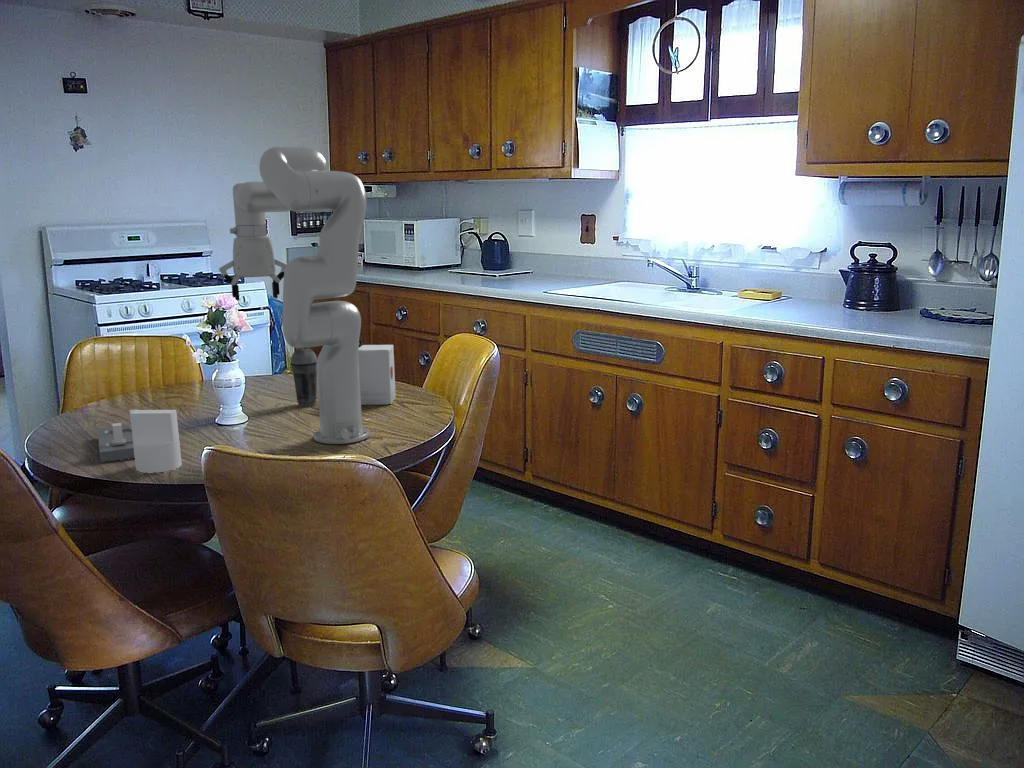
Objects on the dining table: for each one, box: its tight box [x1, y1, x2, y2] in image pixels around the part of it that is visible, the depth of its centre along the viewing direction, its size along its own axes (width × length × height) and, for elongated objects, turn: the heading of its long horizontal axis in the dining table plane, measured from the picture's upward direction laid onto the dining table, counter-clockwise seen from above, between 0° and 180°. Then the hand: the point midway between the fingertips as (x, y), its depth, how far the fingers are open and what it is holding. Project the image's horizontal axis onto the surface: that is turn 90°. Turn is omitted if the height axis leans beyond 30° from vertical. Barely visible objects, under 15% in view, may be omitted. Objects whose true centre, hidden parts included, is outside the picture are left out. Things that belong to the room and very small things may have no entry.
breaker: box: [111, 422, 126, 446], centre depth 195 cm, size 4×3×4 cm
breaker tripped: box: [128, 408, 139, 431], centre depth 208 cm, size 4×3×4 cm
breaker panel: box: [97, 424, 135, 463], centre depth 203 cm, size 22×16×2 cm
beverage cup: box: [289, 347, 318, 408], centre depth 237 cm, size 7×7×20 cm
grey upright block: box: [129, 409, 183, 473], centre depth 186 cm, size 9×9×12 cm
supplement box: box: [358, 344, 396, 406], centre depth 240 cm, size 9×9×15 cm
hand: (256, 298), depth 232 cm, fingers open, 9 cm apart
